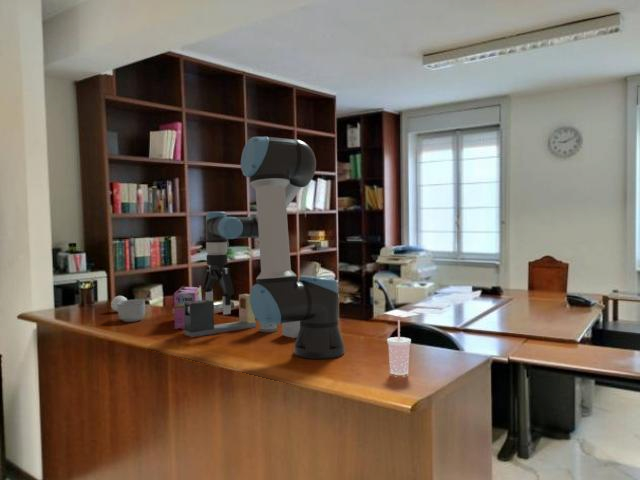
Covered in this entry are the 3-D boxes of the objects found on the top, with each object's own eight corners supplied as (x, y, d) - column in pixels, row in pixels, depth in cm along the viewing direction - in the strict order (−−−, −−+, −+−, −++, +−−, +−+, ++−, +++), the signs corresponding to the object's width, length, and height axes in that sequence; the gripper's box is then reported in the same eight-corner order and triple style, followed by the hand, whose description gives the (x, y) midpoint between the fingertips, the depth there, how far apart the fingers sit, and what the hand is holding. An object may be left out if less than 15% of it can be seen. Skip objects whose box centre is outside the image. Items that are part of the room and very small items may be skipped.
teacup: (148, 321, 209) (148, 301, 209) (121, 324, 203) (120, 304, 203) (139, 316, 221) (139, 297, 221) (113, 319, 215) (112, 300, 215)
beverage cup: (389, 369, 137) (388, 317, 136) (412, 371, 135) (412, 318, 134) (385, 376, 131) (385, 321, 130) (409, 378, 129) (409, 323, 129)
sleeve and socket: (191, 332, 179) (190, 302, 179) (184, 330, 184) (183, 300, 183) (255, 322, 195) (254, 295, 195) (247, 320, 200) (246, 293, 199)
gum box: (184, 317, 217) (183, 285, 217) (203, 316, 218) (202, 284, 218) (174, 329, 193) (173, 293, 193) (195, 328, 194) (194, 292, 194)
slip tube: (190, 314, 180) (190, 306, 180) (186, 313, 183) (186, 305, 182) (234, 309, 191) (234, 301, 191) (230, 308, 193) (230, 300, 193)
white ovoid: (113, 310, 235) (113, 294, 235) (130, 310, 236) (130, 294, 236) (107, 314, 225) (106, 298, 225) (124, 314, 226) (124, 297, 226)
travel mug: (275, 333, 184) (274, 277, 183) (257, 332, 185) (256, 277, 184) (279, 329, 190) (279, 275, 189) (262, 328, 191) (261, 275, 190)
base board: (192, 337, 179) (191, 332, 179) (183, 333, 184) (183, 329, 184) (256, 326, 195) (256, 323, 195) (246, 324, 200) (246, 320, 200)
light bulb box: (303, 330, 187) (303, 301, 187) (316, 333, 182) (316, 303, 182) (281, 335, 180) (281, 304, 179) (294, 338, 175) (293, 307, 175)
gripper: (243, 255, 180) (244, 315, 181) (210, 251, 200) (211, 305, 201) (224, 256, 176) (225, 317, 177) (192, 252, 195) (193, 308, 196)
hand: (217, 311), depth 189 cm, fingers open, 13 cm apart
